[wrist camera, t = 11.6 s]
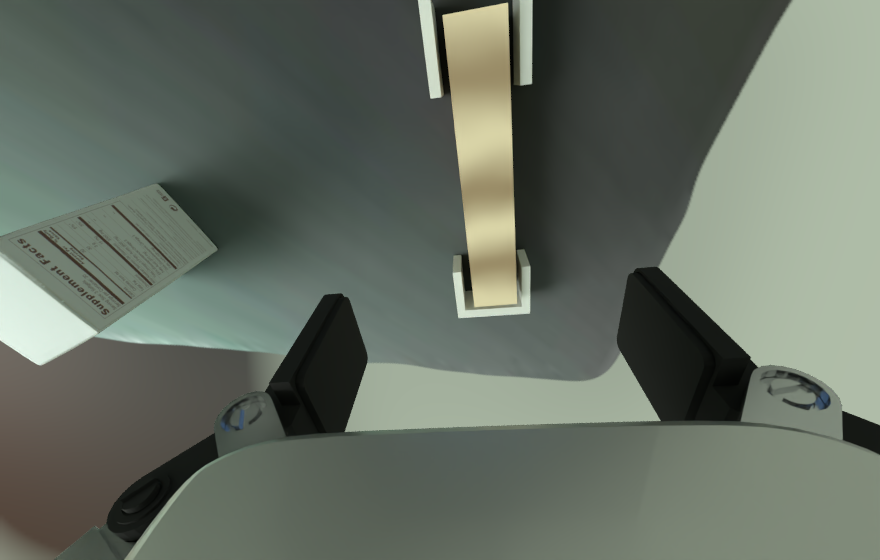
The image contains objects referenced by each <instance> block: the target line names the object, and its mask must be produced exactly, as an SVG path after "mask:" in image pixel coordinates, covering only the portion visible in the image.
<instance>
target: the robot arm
mask: <svg viewBox="0 0 880 560" xmlns="http://www.w3.org/2000/svg"><path fill="white" fill-rule="evenodd" d="M617 344H618V347H619V349H620V351H621V353H622V355H623V356H624V358H625V360H626V362H627V363H628V365H629V367H630V368H631V370H632V372H633V373H634V375H635V377H636V379H637V381H638V382H639V384H640V386H641V387H642V389H643V391H644V393H645V394H646V396H647V398H648V399H649V401H650V403H651V405H652V406H653V408H654V410H655V411H656V413H657V415H658V417H659V418H660V420H661V421H646V422H645V421H643V422H642V421H641V422H607V423H574V424H573V423H572V424H541V425H513V426H512V425H511V426H482V427H454V428H429V429H404V430H379V431H358V432H345V428H346V426H347V423H348V419H349V417H350V414H351V410H352V407H353V404H354V401H355V398H356V395H357V392H358V389H359V386H360V383H361V380H362V377H363V374H364V371H365V368H366V365H367V360H368V357H367V352H366V349H365V346H364V343H363V340H362V337H361V334H360V331H359V328H358V325H357V321H356V318H355V315H354V312H353V309H352V306H351V303H350V300H349V298H348V297H344V296H343V294H341V293H340V294H328V295H324V296H323V298H322V299H321V301H320V303H319V304H318V306H317V307H316V309H315V311H314V312H313V314H312V315H311V317H310V319H309V320H308V322H307V323H306V325H305V327H304V328H303V330H302V331H301V333H300V335H299V336H298V338H297V339H296V341H295V343H294V344H293V346H292V347H291V349H290V351H289V352H288V354H287V355H286V357H285V359H284V360H283V362H282V363H281V365H280V366H279V368H278V370H277V371H276V373H275V374H274V376H273V378H272V379H271V381H270V382H269V386H268V388H267V389H266V391H265V392H257V391H256V392H251V393H247V394H245V395H243V396H240V397H238V398H237V399H235V400H234V401H232V402H231V403H229V404H228V405H227V406H226V407H225V408H224V409H223V410H222V411H221V412H220V414H219V415H218V417H217V419H216V421H215V426H214V432H215V433H214V434H212V435H211V436H209V437H207V438H206V439H204V440H202V441H201V442H199V443H197V444H196V445H194V446H193V447H191V448H189V449H188V450H186V451H184V452H183V453H181V454H179V455H178V456H176V457H175V458H173V459H171V460H170V461H168V462H166V463H165V464H163V465H161V466H160V467H158V468H157V469H155V470H153V471H152V472H150V473H148V474H147V475H145V476H143V477H142V478H141V479H139V480H138V481H136V482H135V483H134V484H132V485H131V486H130V487H129V488H128V489H127V490H126V491H125V492H124V493H122V495H121V496H120V497H119V498H118V500H117V501H116V502H115V503H114V505H113V507H112V508H111V510H110V512H109V514H108V519H107V523H106V524H105V525H104V526H103V527H101V528H100V529H98V528H97V527H96V526H94V527H93V528H91V529H90V530H89V531H88V532H87V533H85V534H84V535H83V536H82V537H81V538H79V539H78V540H77V541H76V542H75V543H73V544H72V545H71V546H70V547H68V548H67V549H66V550H65V551H64V552H63V553H61V554H60V555H59V556H58V557H56V558H55V559H54V560H880V425H878V424H875V423H873V422H870V421H867V420H865V419H862V418H860V417H857V416H854V415H852V414H849V413H847V412H844V411H842V404H841V401H840V398H839V397H838V396H837V394H836V393H835V392H834V391H833V390H832V389H831V388H830V387H829V386H827V385H826V384H825V383H823V382H822V381H820V380H818V379H816V378H815V377H813V376H811V375H809V374H806V373H804V372H801V371H799V370H796V369H792V368H787V367H783V366H775V365H769V366H761V367H759V368H758V367H757V366H756V365H755V364H754V363H753V362H752V361H751V360H750V358H751V357H750V356H749V355H748V354H747V353H746V352H745V351H744V350H743V349H742V348H741V347H740V346H739V345H738V344H737V343H735V341H734V340H732V339H731V337H729V336H728V335H727V334H726V333H725V332H724V331H723V330H722V329H721V328H720V327H719V326H718V325H717V324H716V323H715V322H714V321H713V320H712V319H711V318H710V317H709V316H708V315H707V314H706V313H705V312H704V311H703V310H701V308H699V307H698V306H697V305H696V304H695V303H694V302H693V301H692V300H691V299H690V298H689V297H688V296H687V295H686V294H685V293H684V292H683V291H682V290H681V289H680V288H679V287H678V286H677V285H676V284H675V283H674V282H673V281H672V280H671V279H669V277H668V276H666V274H664V273H663V272H662V271H661V270H660V269H659V268H658V267H647V268H637V269H635V271H634V273H630V274H629V276H628V279H627V285H626V290H625V296H624V301H623V307H622V312H621V318H620V323H619V329H618V334H617Z"/></svg>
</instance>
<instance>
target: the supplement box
mask: <svg viewBox="0 0 880 560" xmlns="http://www.w3.org/2000/svg"><path fill="white" fill-rule="evenodd" d="M217 250H218V249H217V247H216V246H215V245H214V244H213V243H212V241H211V240H210V239H209V238H208V237H207V236H206V235H205V234H204V233H203V231H202V230H201V229H200V228H199V227H198V226H197V225H196V224H195V223H194V222H193V221H192V219H191V218H190V217H189V216H188V215H187V214H186V213H185V212H184V211H183V210H182V209H181V207H180V206H179V205H178V204H177V203H176V202H175V201H174V200H173V199H172V198H171V197H170V196H169V195H168V194H167V192H166V191H165V190H164V189H163V188H162V187H161V186H160V185H158V184H153V185H150V186H147V187H144V188H141V189H139V190H136V191H133V192H130V193H127V194H124V195H121V196H119V197H116V198H113V199H109V200H106V201H103V202H100V203H97V204H94V205H91V206H88V207H85V208H83V209H80V210H77V211H74V212H71V213H68V214H65V215H62V216H59V217H56V218H53V219H49V220H46V221H43V222H41V223H38V224H35V225H32V226H29V227H26V228H23V229H20V230H17V231H14V232H11V233H9V234H6V235H3V236H0V340H1V341H3V342H4V343H5V344H7V345H8V346H10V347H11V348H13V349H14V350H16V351H17V352H19V353H21V354H22V355H23V356H25V357H26V358H28V359H29V360H31V361H33V362H34V363H36V364H38V365H43V364H45V363H47V362H49V361H51V360H53V359H55V358H57V357H59V356H60V355H62V354H64V353H66V352H68V351H69V350H71V349H73V348H75V347H76V346H78V345H80V344H82V343H84V342H85V341H87V340H89V339H91V338H92V337H94V336H95V335H97V334H99V333H100V332H102V331H103V330H104V329H106V328H107V327H109V326H110V325H111V324H113V323H114V322H116V321H117V320H119V319H120V318H121V317H123V316H124V315H126V314H127V313H129V312H130V311H132V310H133V309H134V308H136V307H137V306H139V305H140V304H142V303H143V302H144V301H146V300H147V299H149V298H150V297H152V296H153V295H155V294H156V293H158V292H159V291H161V290H162V289H163V288H165V287H166V286H168V285H169V284H171V283H172V282H173V281H175V280H176V279H178V278H179V277H180V276H182V275H183V274H185V273H186V272H187V271H189V270H190V269H192V268H193V267H195V266H196V265H197V264H199V263H200V262H202V261H203V260H204V259H206V258H207V257H209V256H210V255H211V254H213V253H214V252H216V251H217Z"/></svg>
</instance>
